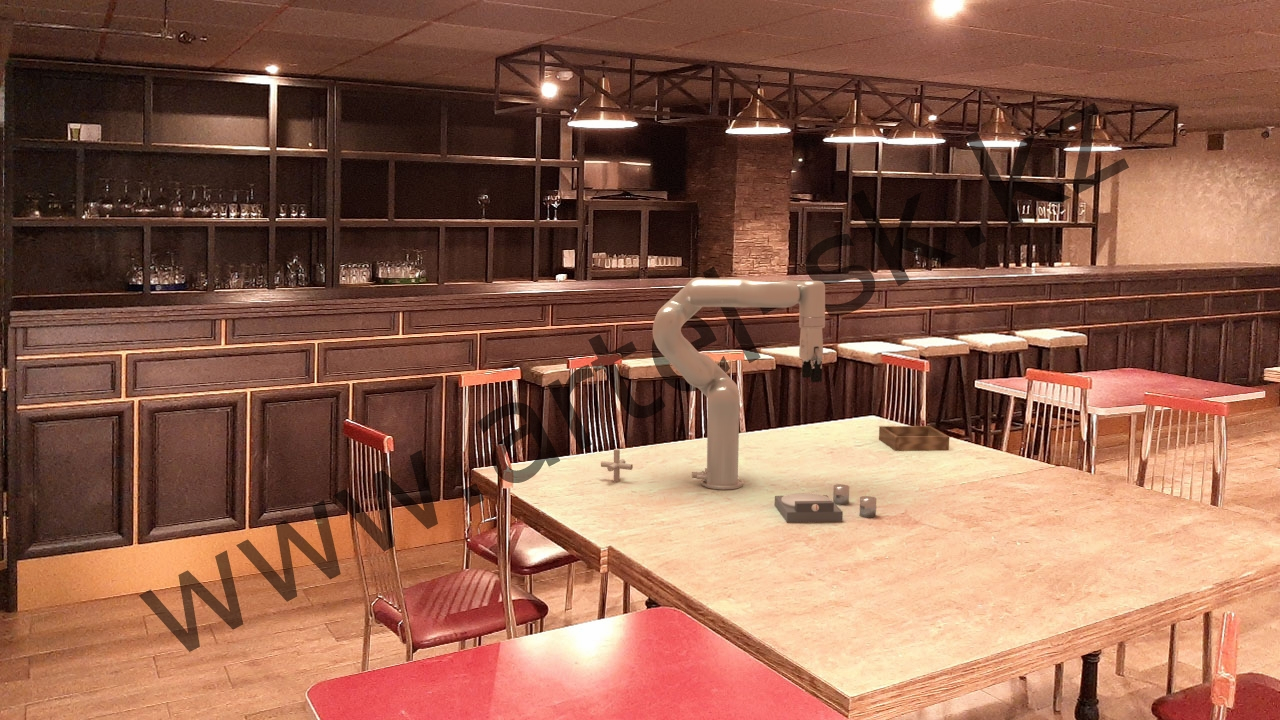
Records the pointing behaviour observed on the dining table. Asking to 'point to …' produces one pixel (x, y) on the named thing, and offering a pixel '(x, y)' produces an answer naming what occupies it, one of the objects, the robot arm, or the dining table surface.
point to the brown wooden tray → (913, 438)
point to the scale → (808, 508)
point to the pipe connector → (616, 465)
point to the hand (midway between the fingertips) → (811, 379)
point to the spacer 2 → (867, 507)
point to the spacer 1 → (841, 494)
